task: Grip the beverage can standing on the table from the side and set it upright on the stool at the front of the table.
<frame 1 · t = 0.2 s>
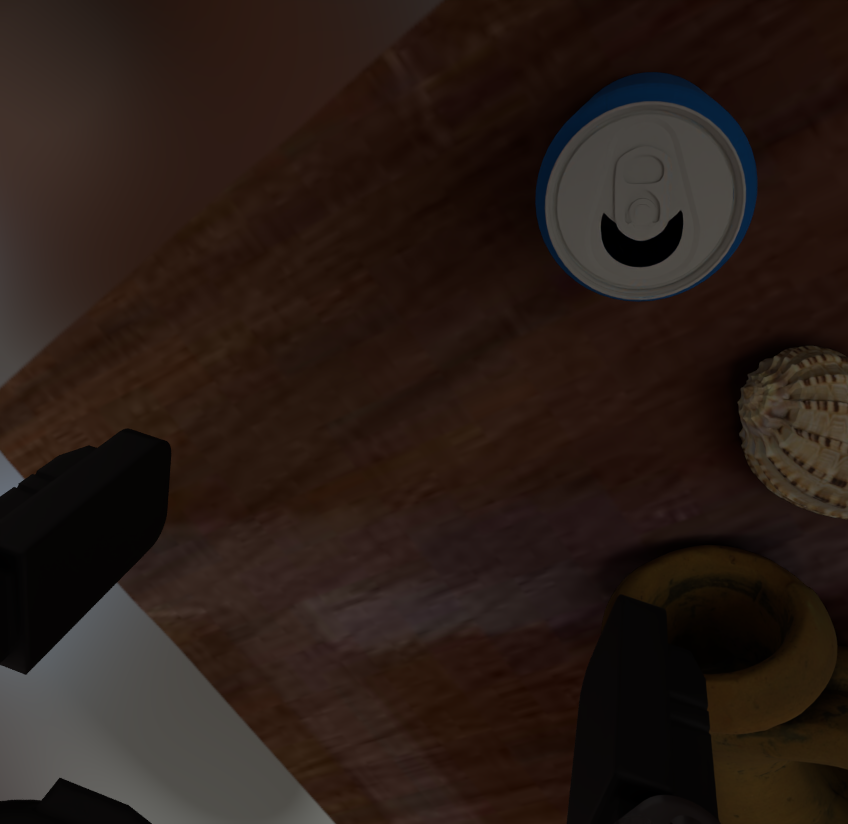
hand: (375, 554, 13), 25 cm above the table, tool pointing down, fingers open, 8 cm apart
seashell: (835, 420, 36), on the table
brown looped sculpture: (814, 707, 43), on the table
beverage can: (643, 154, 33), on the table
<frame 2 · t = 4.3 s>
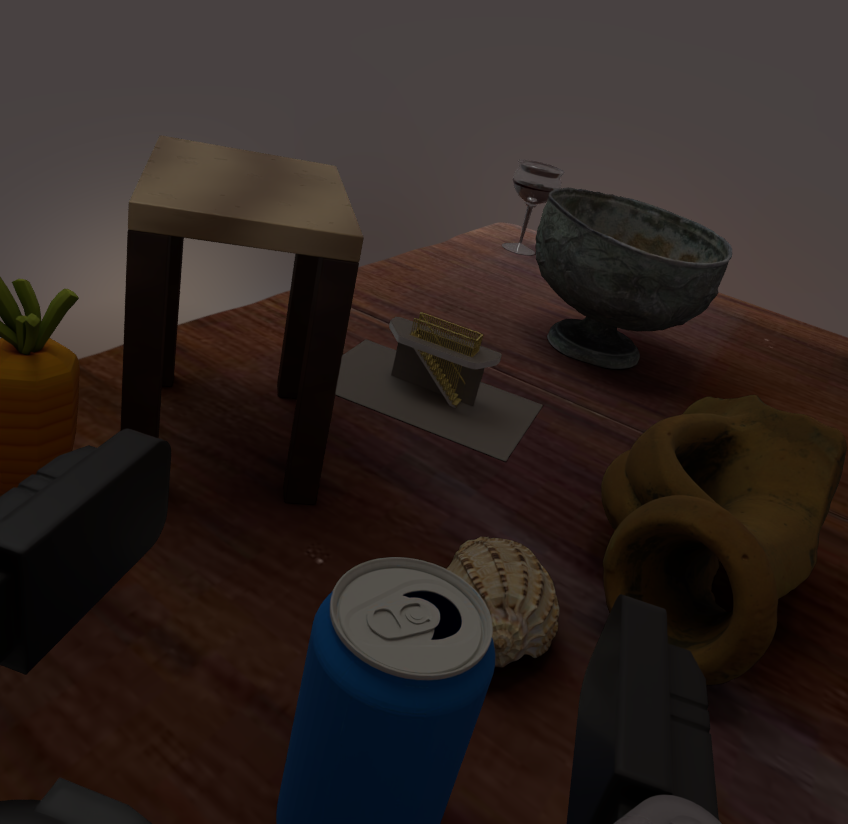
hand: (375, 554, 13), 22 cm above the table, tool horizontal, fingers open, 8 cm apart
seashell: (484, 622, 45), on the table
bowl: (596, 352, 86), on the table
brown looped sculpture: (680, 563, 54), on the table
carrot: (30, 534, 43), on the table
platform: (427, 395, 68), on the table
wineglass: (518, 250, 116), on the table
stool: (250, 180, 48), on the table
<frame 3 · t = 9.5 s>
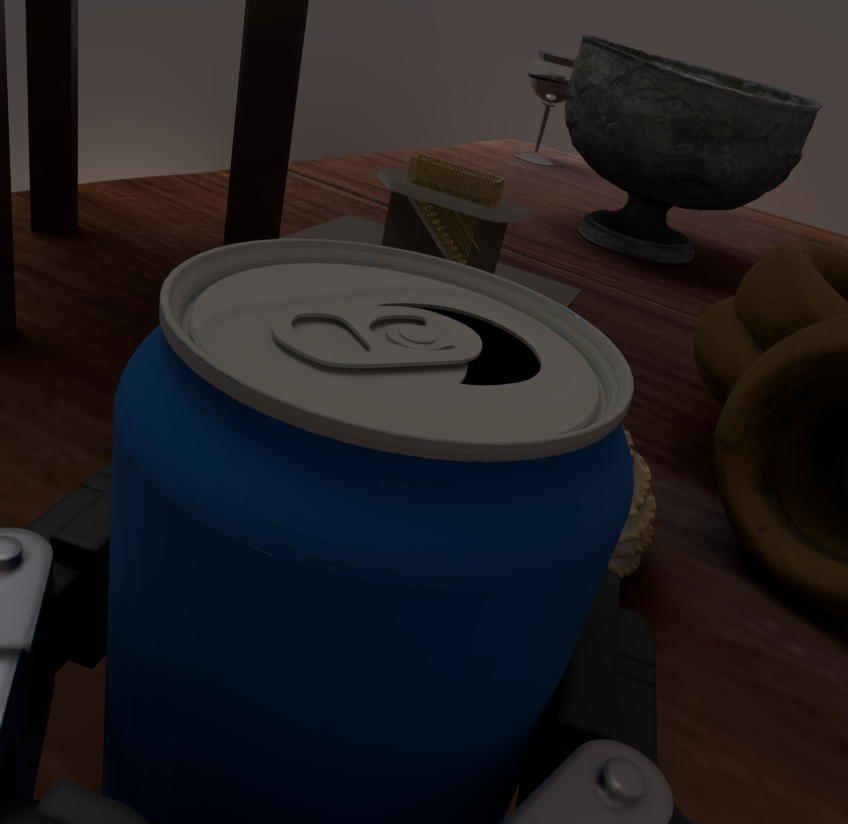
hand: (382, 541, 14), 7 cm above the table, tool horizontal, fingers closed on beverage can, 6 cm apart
seashell: (526, 531, 28), on the table
bowl: (639, 249, 69), on the table
brown looped sculpture: (803, 467, 37), on the table
platform: (429, 271, 51), on the table
wineglass: (533, 161, 98), on the table
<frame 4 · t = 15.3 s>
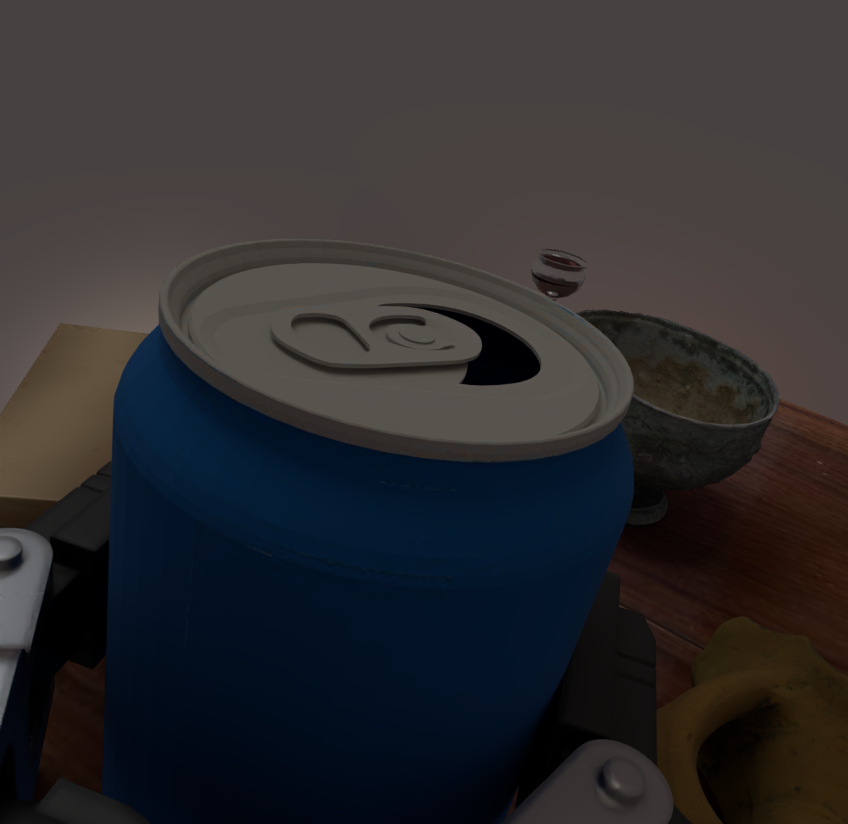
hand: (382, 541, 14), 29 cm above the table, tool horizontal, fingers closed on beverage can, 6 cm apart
bowl: (617, 498, 74), on the table
wineglass: (537, 345, 104), on the table
stool: (150, 405, 38), on the table
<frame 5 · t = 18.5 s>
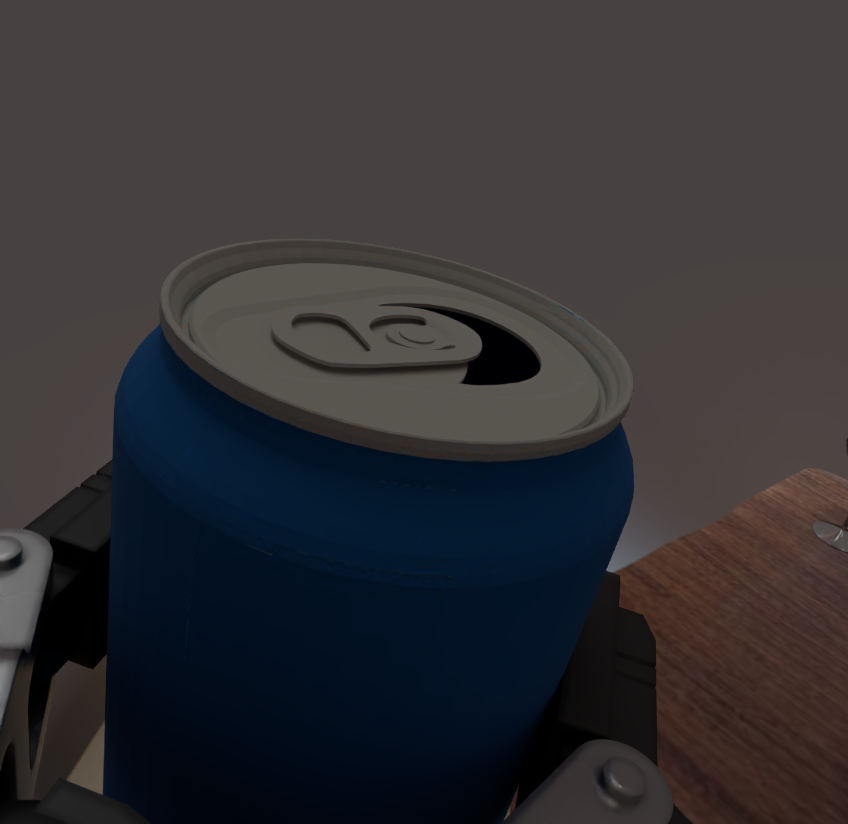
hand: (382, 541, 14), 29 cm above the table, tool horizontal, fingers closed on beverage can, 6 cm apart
wineglass: (837, 538, 76), on the table
when the fingers open (25 cm above the table, at t = 21.2 s): beverage can stays where it is, resting on stool.
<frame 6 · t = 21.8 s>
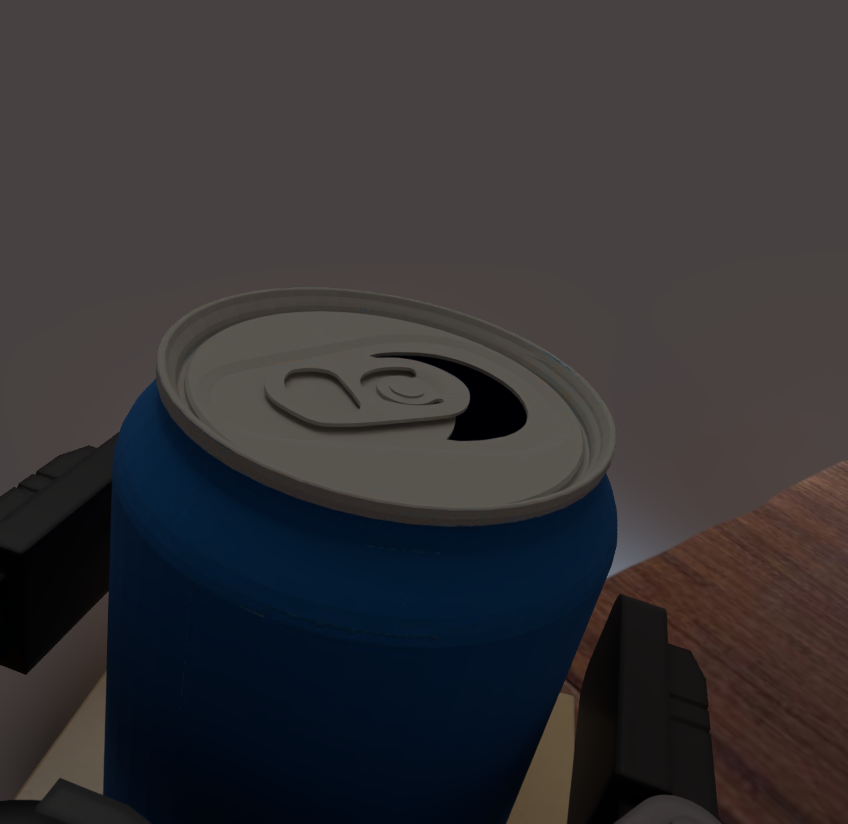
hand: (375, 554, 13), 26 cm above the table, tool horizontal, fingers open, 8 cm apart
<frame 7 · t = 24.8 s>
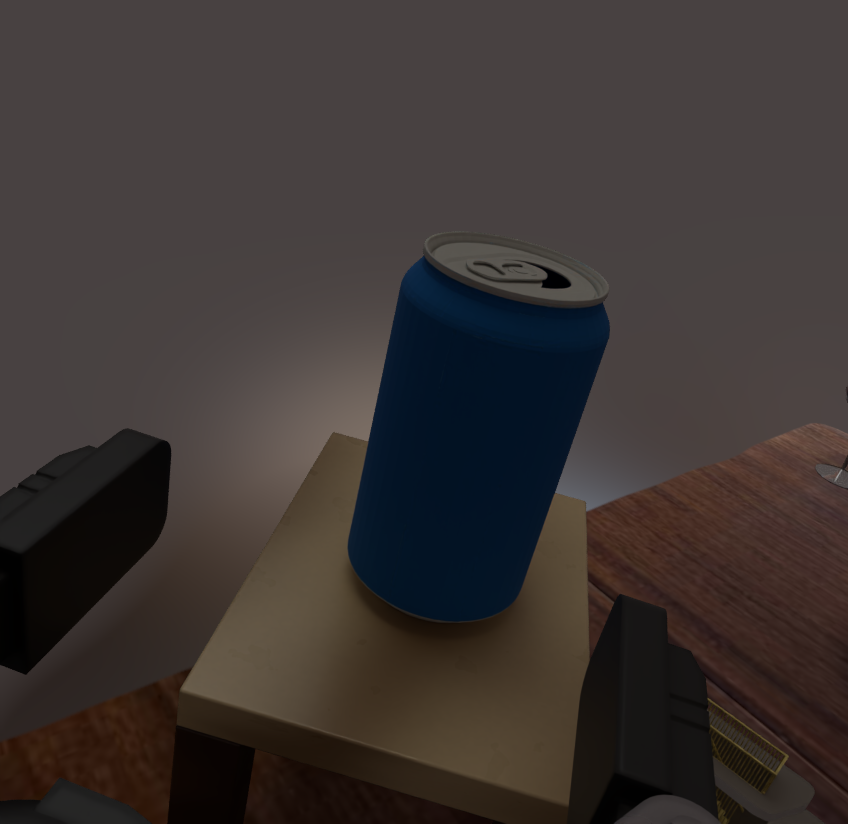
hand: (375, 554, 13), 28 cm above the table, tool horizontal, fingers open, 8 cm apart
beverage can: (430, 578, 29), point 18 cm above the table, touching stool
platform: (679, 805, 44), on the table
wineglass: (838, 477, 86), on the table
stool: (430, 573, 29), on the table
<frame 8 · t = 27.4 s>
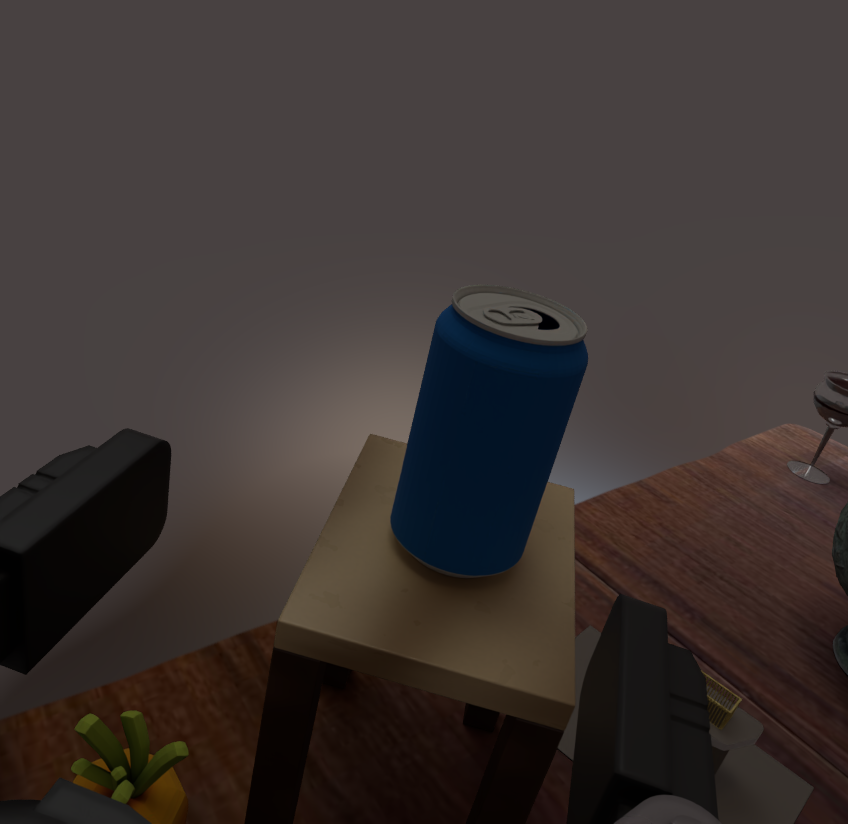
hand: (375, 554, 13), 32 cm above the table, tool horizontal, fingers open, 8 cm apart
beverage can: (452, 546, 38), point 18 cm above the table, touching stool
platform: (654, 744, 53), on the table
wineglass: (807, 473, 95), on the table
stool: (452, 542, 38), on the table
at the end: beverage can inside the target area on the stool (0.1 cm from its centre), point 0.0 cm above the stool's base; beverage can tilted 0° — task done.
